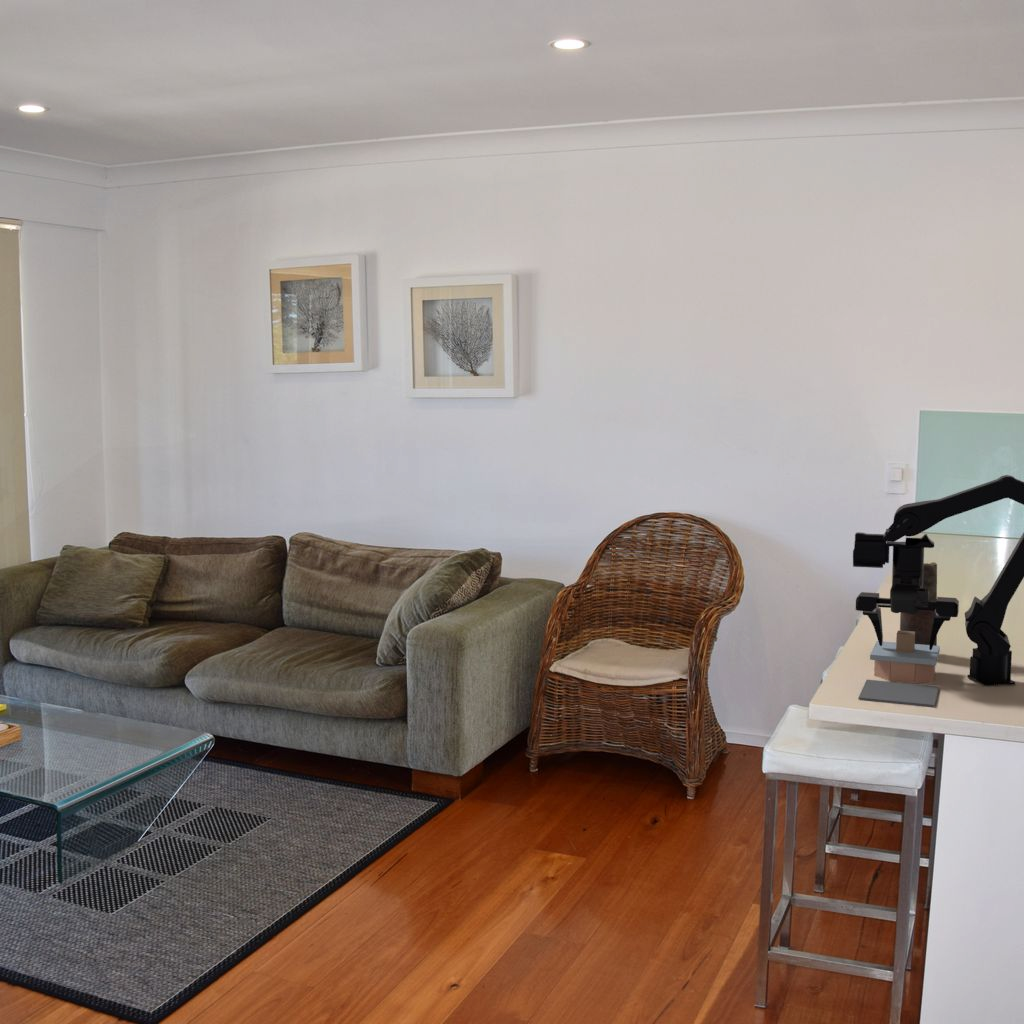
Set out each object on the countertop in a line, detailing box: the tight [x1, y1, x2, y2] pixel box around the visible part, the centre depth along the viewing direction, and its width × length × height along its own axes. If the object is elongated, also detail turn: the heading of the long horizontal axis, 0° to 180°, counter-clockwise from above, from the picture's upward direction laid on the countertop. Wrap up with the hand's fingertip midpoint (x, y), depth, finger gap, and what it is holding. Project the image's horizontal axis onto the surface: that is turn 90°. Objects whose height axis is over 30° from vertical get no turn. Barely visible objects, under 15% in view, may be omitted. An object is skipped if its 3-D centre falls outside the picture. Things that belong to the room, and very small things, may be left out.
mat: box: [858, 679, 939, 708], centre depth 206 cm, size 13×13×1 cm
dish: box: [873, 660, 936, 684], centre depth 219 cm, size 11×11×4 cm
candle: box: [899, 562, 938, 646], centre depth 234 cm, size 8×7×20 cm
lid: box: [869, 629, 941, 666], centre depth 218 cm, size 12×12×4 cm
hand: (905, 647), depth 218 cm, fingers open, 9 cm apart
